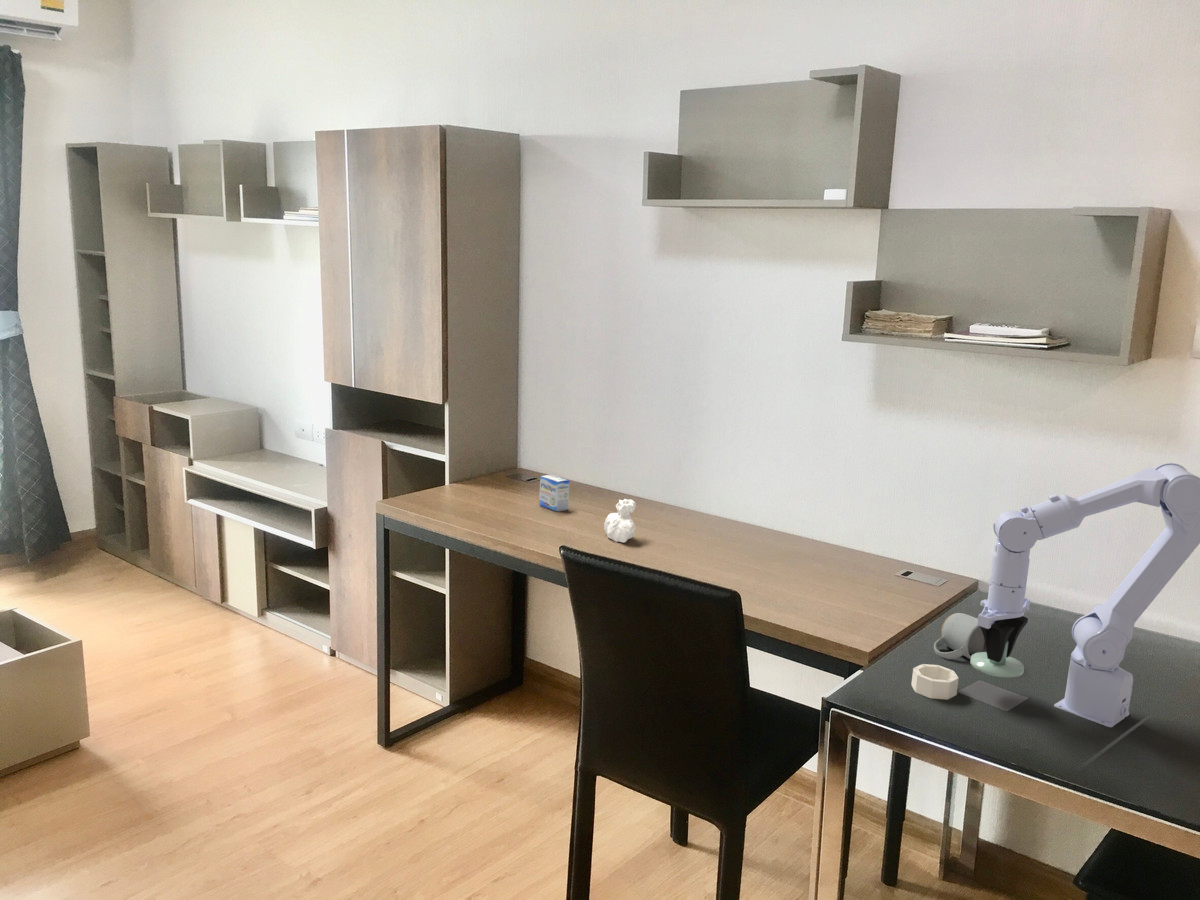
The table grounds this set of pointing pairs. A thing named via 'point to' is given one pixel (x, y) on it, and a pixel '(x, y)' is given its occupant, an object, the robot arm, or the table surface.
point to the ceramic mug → (960, 637)
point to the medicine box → (554, 493)
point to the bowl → (934, 681)
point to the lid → (997, 665)
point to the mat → (993, 695)
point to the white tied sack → (621, 522)
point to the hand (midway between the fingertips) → (998, 657)
